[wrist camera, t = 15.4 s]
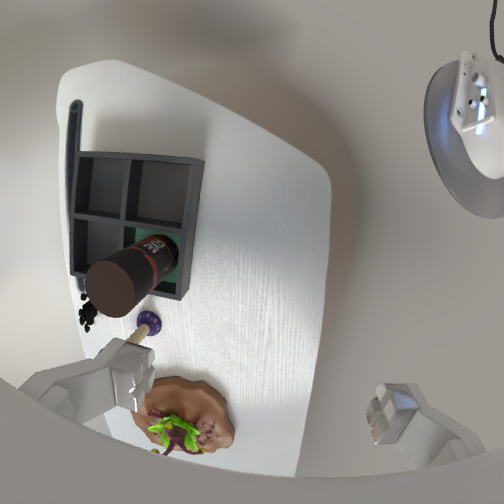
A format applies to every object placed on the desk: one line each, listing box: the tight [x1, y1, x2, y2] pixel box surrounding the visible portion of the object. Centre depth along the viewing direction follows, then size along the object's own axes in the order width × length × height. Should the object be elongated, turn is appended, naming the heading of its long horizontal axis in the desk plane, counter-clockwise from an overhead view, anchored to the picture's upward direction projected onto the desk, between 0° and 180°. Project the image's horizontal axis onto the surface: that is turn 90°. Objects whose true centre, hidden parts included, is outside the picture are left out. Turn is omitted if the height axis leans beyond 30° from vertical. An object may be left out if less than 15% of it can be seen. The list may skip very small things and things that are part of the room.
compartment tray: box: [70, 151, 205, 301], centre depth 38 cm, size 18×18×5 cm
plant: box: [130, 377, 234, 456], centre depth 43 cm, size 20×20×11 cm
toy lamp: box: [98, 311, 161, 354], centre depth 36 cm, size 5×5×17 cm
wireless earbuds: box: [79, 293, 97, 333], centre depth 42 cm, size 7×2×5 cm, turn 174°
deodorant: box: [85, 234, 179, 318], centre depth 33 cm, size 6×6×15 cm
